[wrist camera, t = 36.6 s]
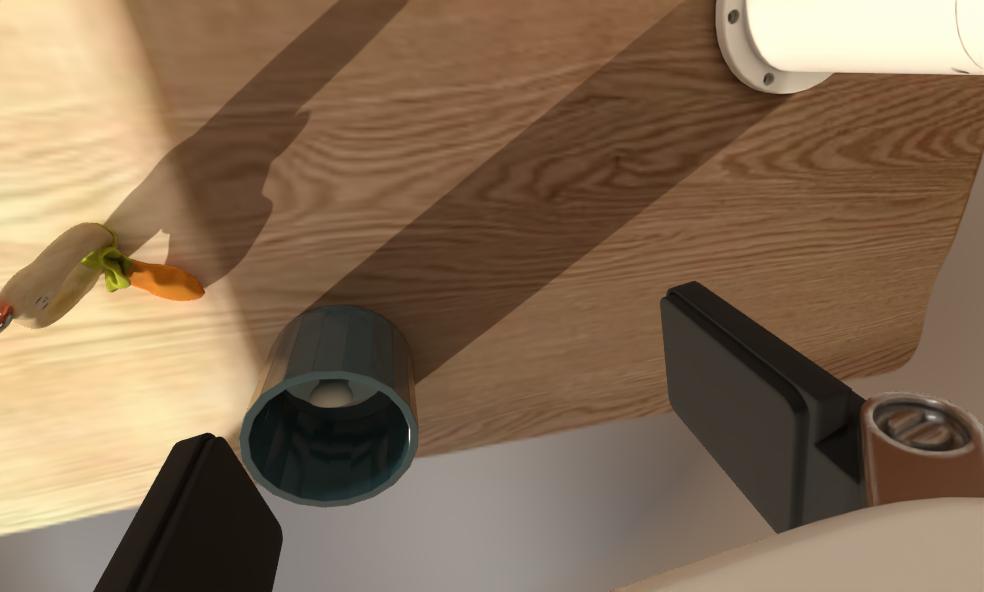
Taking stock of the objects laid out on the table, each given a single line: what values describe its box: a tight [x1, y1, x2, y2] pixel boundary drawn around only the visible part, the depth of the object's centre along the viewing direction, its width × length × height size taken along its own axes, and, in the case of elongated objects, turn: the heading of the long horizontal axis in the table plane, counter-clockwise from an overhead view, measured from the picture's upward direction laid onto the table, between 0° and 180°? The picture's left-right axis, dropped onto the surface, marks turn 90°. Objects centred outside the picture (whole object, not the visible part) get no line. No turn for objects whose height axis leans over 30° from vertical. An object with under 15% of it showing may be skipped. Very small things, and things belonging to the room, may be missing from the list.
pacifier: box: [287, 379, 378, 408], centre depth 38 cm, size 7×6×6 cm
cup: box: [239, 305, 418, 507], centre depth 37 cm, size 11×11×10 cm
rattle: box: [0, 223, 205, 333], centre depth 30 cm, size 8×8×12 cm
